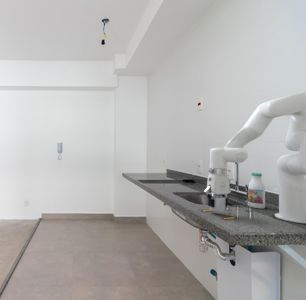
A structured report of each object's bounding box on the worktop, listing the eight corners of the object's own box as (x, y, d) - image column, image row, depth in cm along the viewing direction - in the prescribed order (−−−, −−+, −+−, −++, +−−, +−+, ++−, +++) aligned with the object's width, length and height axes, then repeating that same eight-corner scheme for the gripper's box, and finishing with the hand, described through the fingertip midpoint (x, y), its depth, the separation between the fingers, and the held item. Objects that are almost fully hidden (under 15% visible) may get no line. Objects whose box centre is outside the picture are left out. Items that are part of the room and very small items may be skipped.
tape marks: (211, 210, 114) (211, 209, 114) (235, 218, 101) (235, 218, 101) (201, 210, 113) (201, 210, 113) (225, 219, 99) (225, 218, 99)
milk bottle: (252, 204, 127) (252, 172, 127) (267, 208, 120) (268, 173, 120) (245, 206, 123) (245, 172, 123) (260, 209, 116) (261, 174, 116)
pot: (217, 207, 111) (217, 194, 111) (228, 211, 104) (228, 197, 104) (206, 208, 109) (206, 195, 109) (217, 212, 103) (217, 198, 103)
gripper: (210, 172, 101) (209, 209, 101) (238, 172, 105) (237, 207, 105) (198, 171, 109) (197, 205, 109) (225, 170, 112) (224, 203, 112)
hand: (217, 205), depth 107 cm, fingers closed on pot, 6 cm apart
